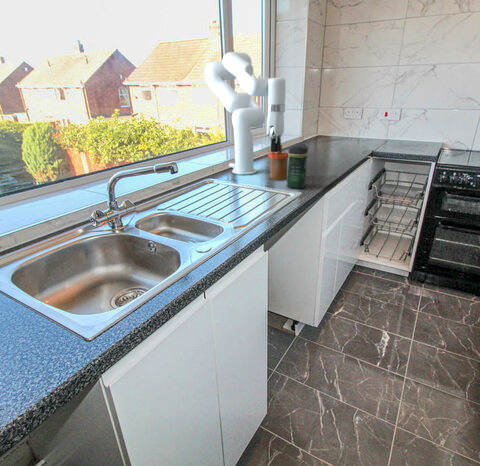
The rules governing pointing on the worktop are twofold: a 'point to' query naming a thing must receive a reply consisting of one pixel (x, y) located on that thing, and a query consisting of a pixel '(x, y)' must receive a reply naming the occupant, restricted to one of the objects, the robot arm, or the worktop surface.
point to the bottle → (278, 167)
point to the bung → (278, 156)
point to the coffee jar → (297, 166)
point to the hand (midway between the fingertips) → (275, 151)
